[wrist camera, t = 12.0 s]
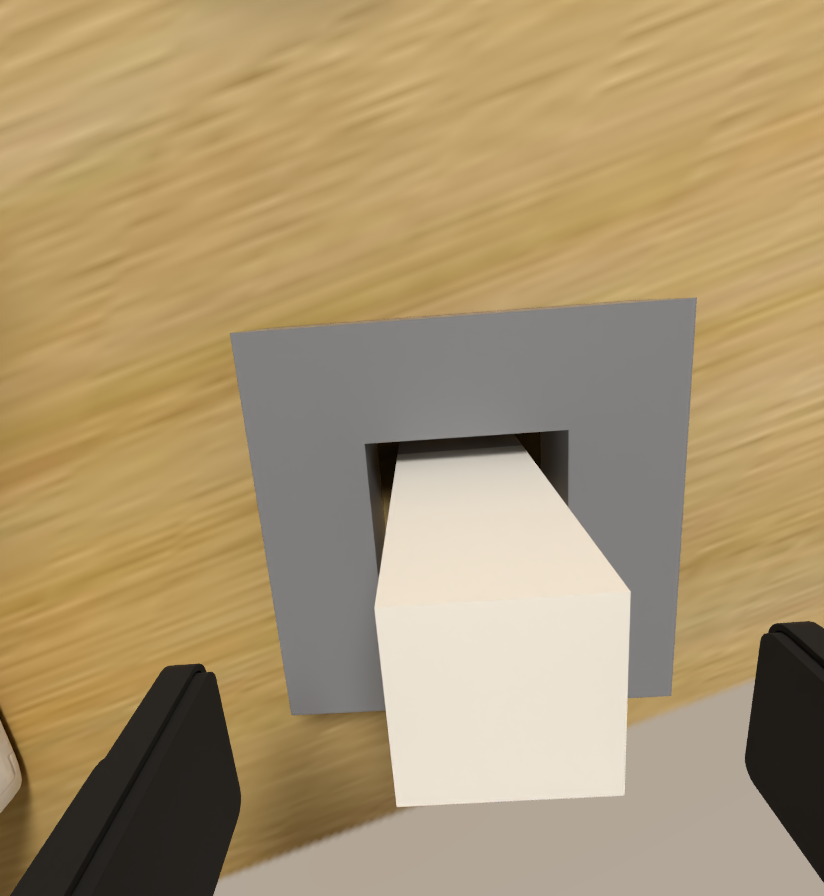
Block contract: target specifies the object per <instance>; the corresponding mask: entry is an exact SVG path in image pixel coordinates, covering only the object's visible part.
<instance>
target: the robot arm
mask: <svg viewBox="0 0 824 896" xmlns="http://www.w3.org/2000/svg"><path fill="white" fill-rule="evenodd" d="M745 763H746V768H747V771H748V774H749V776H750V778H751V780H752V782H753V783H754V785H755V786H756V788H757V789H758V790H759V792H760V793H761V795H762V796H763V798H764V799H765V800H766V802H767V803H768V805H769V806H770V808H771V809H772V810H773V812H774V813H775V815H776V816H777V817H778V819H779V820H780V822H781V823H782V824H783V826H784V827H785V829H786V830H787V832H788V833H789V834H790V836H791V837H792V839H793V840H794V841H795V843H796V844H797V846H798V847H799V848H800V850H801V851H802V853H803V854H804V856H805V857H806V858H807V860H808V861H809V863H810V864H811V865H812V867H813V868H814V869H815V871H816V872H817V874H818V875H819V877H820V878H821V879H822V881H823V882H824V628H822V627H821V626H820V625H818V624H816V623H815V622H810V621H806V622H791V623H777V624H774V625H772V626H771V628H770V629H769V632H768V633H767V634H764V635H763V636H762V638H761V641H760V648H759V656H758V663H757V671H756V678H755V686H754V693H753V701H752V709H751V716H750V723H749V731H748V738H747V746H746V753H745ZM240 805H241V792H240V786H239V782H238V777H237V772H236V768H235V763H234V759H233V754H232V749H231V745H230V740H229V735H228V731H227V726H226V722H225V717H224V712H223V708H222V703H221V698H220V694H219V689H218V685H217V680H216V677H215V674H214V673H213V672H206V670H205V667H204V666H203V665H202V664H188V665H174V666H167V667H165V668H164V669H163V670H162V671H161V673H160V674H159V676H158V677H157V679H156V681H155V682H154V684H153V685H152V687H151V688H150V690H149V691H148V693H147V694H146V696H145V697H144V699H143V700H142V702H141V704H140V705H139V707H138V708H137V710H136V711H135V713H134V714H133V716H132V717H131V719H130V720H129V722H128V724H127V725H126V727H125V728H124V730H123V731H122V733H121V734H120V736H119V737H118V739H117V740H116V742H115V743H114V745H113V747H112V748H111V750H110V751H109V753H108V754H107V756H106V757H105V758H104V759H103V760H101V761H100V762H99V764H98V765H97V766H96V767H95V768H94V770H93V771H92V772H91V774H90V775H89V777H88V778H87V780H86V781H85V783H84V785H83V786H82V788H81V789H80V791H79V792H78V794H77V795H76V797H75V798H74V800H73V801H72V803H71V804H70V806H69V807H68V809H67V810H66V812H65V813H64V815H63V816H62V818H61V819H60V821H59V822H58V824H57V825H56V827H55V828H54V830H53V831H52V833H51V835H50V836H49V838H48V839H47V841H46V842H45V844H44V845H43V847H42V848H41V850H40V851H39V853H38V854H37V856H36V857H35V859H34V860H33V862H32V863H31V865H30V866H29V868H28V869H27V871H26V872H25V874H24V875H23V877H22V878H21V880H20V881H19V883H18V884H17V886H16V888H15V889H14V891H13V892H12V894H11V895H10V896H213V894H214V891H215V888H216V885H217V882H218V879H219V875H220V872H221V869H222V866H223V863H224V860H225V857H226V854H227V851H228V848H229V844H230V841H231V838H232V835H233V832H234V829H235V826H236V823H237V820H238V816H239V812H240Z"/></svg>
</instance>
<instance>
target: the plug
mask: <svg viewBox="0 0 824 896" xmlns="http://www.w3.org/2000/svg"><path fill="white" fill-rule="evenodd" d="M630 598H631V591H630V590H629V589H628V587H627V586H626V585H625V583H624V582H623V581H622V579H621V578H620V577H619V575H618V574H617V573H616V571H615V570H614V568H613V567H612V566H611V564H610V563H609V562H608V560H607V559H606V558H605V556H604V555H603V554H602V552H601V551H600V550H599V548H598V547H597V546H596V544H595V543H594V541H593V540H592V539H591V537H590V536H589V535H588V533H587V532H586V531H585V529H584V528H583V527H582V525H581V524H580V523H579V521H578V520H577V519H576V517H575V516H574V515H573V513H572V512H571V510H570V509H569V508H568V506H567V505H566V504H565V502H564V501H563V500H562V498H561V497H560V496H559V494H558V493H557V492H556V490H555V489H554V488H553V486H552V485H551V483H550V482H549V481H548V479H547V478H546V477H545V475H544V474H543V473H542V471H541V470H540V469H539V467H538V466H537V465H536V463H535V462H534V461H533V459H532V458H531V457H530V455H529V454H528V452H527V451H526V450H525V448H524V447H523V446H522V444H521V443H520V442H519V440H518V439H517V438H516V436H515V435H514V434H501V435H486V436H472V437H457V438H442V439H428V440H413V441H400V442H399V448H398V455H397V461H396V468H395V475H394V481H393V488H392V494H391V501H390V508H389V514H388V521H387V527H386V534H385V541H384V547H383V554H382V561H381V567H380V574H379V580H378V587H377V594H376V600H375V607H374V610H375V619H376V628H377V636H378V645H379V654H380V663H381V672H382V681H383V690H384V698H385V707H386V716H387V725H388V734H389V743H390V751H391V760H392V769H393V778H394V787H395V796H396V805H397V807H407V806H426V805H445V804H446V805H447V804H466V803H486V802H506V801H524V800H544V799H565V798H585V797H603V796H604V797H605V796H624V794H625V760H626V729H627V696H628V663H629V631H630Z"/></svg>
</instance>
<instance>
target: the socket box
mask: <svg viewBox="0 0 824 896" xmlns="http://www.w3.org/2000/svg"><path fill="white" fill-rule="evenodd" d="M696 303H697V298H675V299H647V300H631V301H618V302H605V303H592V304H578V305H565V306H552V307H539V308H526V309H513V310H500V311H487V312H474V313H461V314H448V315H435V316H422V317H408V318H395V319H382V320H369V321H356V322H343V323H330V324H317V325H304V326H291V327H278V328H266V329H258V330H251V331H244V332H236V333H230V337H231V343H232V349H233V355H234V361H235V368H236V374H237V380H238V386H239V392H240V399H241V405H242V411H243V417H244V423H245V430H246V436H247V442H248V448H249V454H250V461H251V467H252V473H253V479H254V486H255V492H256V498H257V504H258V510H259V517H260V523H261V529H262V535H263V541H264V548H265V554H266V560H267V566H268V572H269V579H270V585H271V591H272V597H273V603H274V610H275V616H276V622H277V628H278V634H279V641H280V647H281V653H282V659H283V665H284V672H285V678H286V684H287V690H288V696H289V703H290V709H291V715H308V714H327V713H347V712H366V711H386V707H385V698H384V690H383V681H382V672H381V663H380V654H379V645H378V636H377V628H376V619H375V610H374V607H375V600H376V594H377V587H378V580H379V574H380V567H381V561H382V554H383V547H384V541H385V534H386V531H385V520H384V510H383V499H382V489H381V478H380V467H379V457H378V446H377V443H384V442H399V441H413V440H428V439H442V438H457V437H472V436H486V435H501V434H515V433H530V432H541V471H542V473H543V474H544V475H545V477H546V478H547V479H548V481H549V482H550V483H551V485H552V486H553V488H554V489H555V490H556V492H557V493H558V494H559V496H560V497H561V498H562V500H563V501H564V502H565V504H566V505H567V506H568V508H569V509H570V510H571V512H572V513H573V515H574V516H575V517H576V519H577V520H578V521H579V523H580V524H581V525H582V527H583V528H584V529H585V531H586V532H587V533H588V535H589V536H590V537H591V539H592V540H593V541H594V543H595V544H596V546H597V547H598V548H599V550H600V551H601V552H602V554H603V555H604V556H605V558H606V559H607V560H608V562H609V563H610V564H611V566H612V567H613V568H614V570H615V571H616V573H617V574H618V575H619V577H620V578H621V579H622V581H623V582H624V583H625V585H626V586H627V587H628V589H629V590H630V591H631V598H630V631H629V663H628V696H627V698H639V697H658V696H671V691H672V675H673V659H674V644H675V628H676V613H677V597H678V582H679V566H680V551H681V535H682V520H683V504H684V489H685V473H686V458H687V442H688V427H689V411H690V396H691V380H692V365H693V349H694V334H695V318H696Z"/></svg>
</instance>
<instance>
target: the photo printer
mask: <svg viewBox="0 0 824 896" xmlns="http://www.w3.org/2000/svg"><path fill="white" fill-rule="evenodd" d="M21 782H22V777H21V772H20V768H19V765H18V761H17V759H16V756H15V753H14V751H13V749H12V746H11V744H10V742H9V739H8V737H7V735H6V732H5V730H4V728H3V726H2V723H1V721H0V813H1V812H2V811H3V809H4V808H5V807H6V806H7V805H8V803H9V802H10V801H11V800H12V799H13V797H14V796H15V794H16V793H17V792H18V790H19V789H20V787H21Z"/></svg>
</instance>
